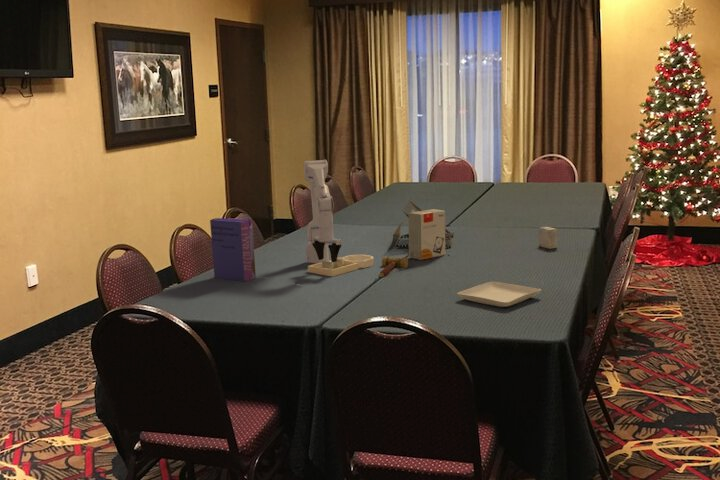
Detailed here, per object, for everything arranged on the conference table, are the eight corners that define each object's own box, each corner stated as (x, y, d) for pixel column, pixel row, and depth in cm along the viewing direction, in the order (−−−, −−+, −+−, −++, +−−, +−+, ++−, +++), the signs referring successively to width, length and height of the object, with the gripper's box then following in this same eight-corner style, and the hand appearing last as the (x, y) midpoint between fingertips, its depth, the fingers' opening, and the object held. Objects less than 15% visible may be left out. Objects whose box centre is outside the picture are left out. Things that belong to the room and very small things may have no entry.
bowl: (335, 267, 329) (335, 258, 328) (357, 261, 338) (357, 253, 337) (358, 271, 320) (358, 262, 319) (379, 265, 329) (379, 257, 328)
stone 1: (320, 272, 318) (319, 261, 317) (328, 270, 321) (327, 259, 320) (327, 273, 315) (327, 262, 314) (335, 271, 318) (335, 260, 317)
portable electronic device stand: (451, 249, 357) (450, 210, 354) (390, 250, 361) (389, 211, 358) (454, 236, 389) (453, 199, 386) (398, 236, 393) (397, 200, 390)
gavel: (392, 271, 305) (368, 270, 308) (393, 282, 306) (369, 281, 309) (407, 256, 324) (384, 255, 327) (408, 266, 325) (385, 266, 328)
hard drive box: (420, 260, 335) (419, 214, 331) (408, 258, 340) (407, 212, 337) (446, 254, 344) (445, 209, 341) (433, 252, 350) (433, 208, 346)
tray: (308, 273, 319) (307, 265, 319) (334, 266, 330) (334, 259, 330) (332, 277, 310) (331, 270, 309) (358, 270, 321) (358, 263, 320)
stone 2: (330, 269, 322) (330, 258, 321) (338, 267, 325) (338, 256, 324) (338, 270, 319) (338, 260, 318) (346, 268, 322) (345, 258, 321)
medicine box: (557, 248, 349) (557, 229, 347) (548, 249, 347) (549, 230, 346) (546, 245, 356) (547, 226, 355) (538, 246, 355) (538, 227, 353)
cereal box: (255, 279, 313) (251, 219, 309) (248, 281, 309) (244, 221, 305) (222, 275, 322) (217, 217, 318) (214, 277, 318) (210, 219, 314)
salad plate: (455, 301, 270) (455, 292, 269) (492, 289, 285) (492, 280, 284) (506, 312, 255) (506, 302, 254) (542, 298, 270) (542, 288, 269)
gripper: (306, 227, 316) (308, 260, 319) (331, 230, 307) (333, 264, 309) (318, 224, 321) (320, 257, 324) (344, 227, 312) (345, 261, 314)
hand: (327, 260), depth 317 cm, fingers open, 7 cm apart
